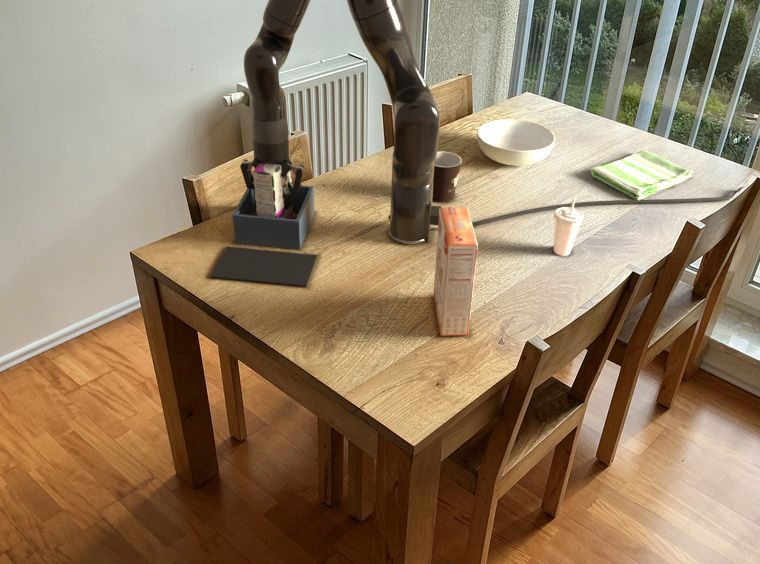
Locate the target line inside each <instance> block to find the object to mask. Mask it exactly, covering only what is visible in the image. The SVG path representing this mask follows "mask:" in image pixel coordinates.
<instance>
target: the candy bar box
mask: <svg viewBox="0 0 760 564" xmlns="http://www.w3.org/2000/svg"><path fill="white" fill-rule="evenodd" d="M289 158H290V159H291V153H290V152H289ZM280 174H282V171H281V165H277V164H267V163H260V164H259V165H258V166H257V167H256V168H254V170H252V175H253V180H254V191H255V201H256V210H255V212H256V216H263V217H273V218H284V219H294V218H295V213H294V211H293V203H292V205H291V208H290V207H289V210H285V201H284V195H285V192H284V190H283V188H282V185H281V175H280ZM287 174H288V177H289V181H290V183H291V185H292V184H293V183H292V182H293V179H292V170H290V171H289V172H288V173H287ZM285 178H286V176H285V177H284V180H285ZM292 201H293V196H292Z"/></svg>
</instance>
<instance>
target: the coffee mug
mask: <svg viewBox="0 0 760 564" xmlns="http://www.w3.org/2000/svg"><path fill="white" fill-rule="evenodd" d="M462 162H463V158H462V157H461V156H459V155H458V154H456V153H453V152H450V151H444V150H443V151H441V150H439V151H437V157H436V160H435V167H434V181H433V202H436V203H443V204H444V203H449V202H451V201H453V200H454V199H455V193H456V189H457V184H458V181H459V175H460V171H461V166H462Z"/></svg>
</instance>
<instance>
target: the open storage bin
mask: <svg viewBox="0 0 760 564" xmlns="http://www.w3.org/2000/svg"><path fill="white" fill-rule="evenodd" d="M293 185H294V183H292V186H293ZM292 196H293V211H294V214H298V215H297V217H296V219H294V218H293V219H284V218H273V217H263V216H257V215H254V214H255V212H256V201H255V191H254V190H253V189H248V188H247V187H246V189H245V192H244V194H243V195H242V197H241V199H240V201H239V202H238V204H237V206H236V208H235V210H234V211H233V213H232V215H231V216H232V227H233V237H234V244H241V245H250V246H260V247H272V248H282V249H292V250H301V249H302V246H303V244H304V241H305V238H306V235H307V233H308V231H309V229H310V226H311V222H312V220H313V218H314V215H315V187H314V185H304V184H303V185H302V184H301V187H300V189H299V192H298V193H297V194H295V193H293V194H292Z"/></svg>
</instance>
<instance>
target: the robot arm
mask: <svg viewBox="0 0 760 564" xmlns="http://www.w3.org/2000/svg"><path fill="white" fill-rule="evenodd" d="M310 2H311V0H268V1H267V4H266V5H265V8H264V11H263V15H262V24H261V27H260V29H259V31H258V34H257V36H256V38H255V40H254V41H253V42H252V43H251V44H250V45H249V46H248V47H247V49H246V50H245V53H244V55H243V56H244V57H243V71H244V77H245V80H246V84H247V88H248V91H249V93H250V105H251V106H250V107H251V136H252V150H253V160H248V159H246V158H245V159H243V161H242V162H241V164H240V166H239V168H240V170H241V173H242V176H243V180H244V183H245V186H246V189H247V188H248V189H253V190H254V180H253V168H254V169H255V168H256V167H257V166H258V165H259V164H260V163H267V164H277V165H281V171H282V174H280V175H281V185H282V188H283V190H284V192H285V195H284V201H285V210H289V207H290V208H291V205H292V203H293V201H292V194H293V193H295V194H297V193H298V192H299V189H300V187H301V185H302V181H303V178H304V177H303V176H304V171H305V166H304V165H303V164H299V165H297V164H293V162H292V161H291V157H290V158H289V153H290V142H289V136H290V135H289V134H290V132H289V123H288V118H287V106H286V105H287V103H286V102H287V101H286V94H285V91H284V89H283V88H282V86H281V85H280V78H279V77H280V75H279V73H280V70H281V69H282V67H283V66H284V65H285V64H286V61H287V58H288V56H289V54H290V52H291V48H292V46H293V43H294V39H295V35H296V33H297V31H298V30H299V27H300V25H301V23H302V22H303V19H304V17H305V15H306V13H307V11H308V7H309V5H310ZM346 3H347V7H348V9H349V12H350V15H351V18H352V21H353V23H354V24H355V28H356V30H357V32H358V34H359V37H360V39H361V41H362V42H363V43H362V44H363V45H364V46H365V48H366V50H367V51H368V53H369V55H370V56H371V58H372V60H373V61H374V62H375V64H376V65H377V68H378V69H379V70H380V72H381V74H382V77H383V80H384V82H385V85H386V88H387V91H388V94H389V98H390V101H391V105H392V111H393V117H394V118H393V119H394V132H393V133H394V135H393V152H392V155H391V156H392V158H391V159H392V161H391V184H390V185H391V186H390V207H389V208H390V211H389V212H390V213H389V215H388V220H389V229H388V235H389V237H390V238H391V240H393V241H395V242H397V243H400V244H403V245H418V244H419V245H420V244H423V243H429V241H430V237H431V228H432V227H431V226H438V220H439V208H442V206H441V205H433V202H434V201H433V181H434V167H435V160H436V157H437V152H438V148H439V140H440V139H439V138H440V126H441V125H440V124H441V121H440V119H441V117H440V112H439V109H438V108H439V107H438V105H437V101H436V99H435V97H434V95H433V93H432V91H431V90H430V88H429V86H428V84H427V82H426V80H425V78H424V76H423V74H422V72H421V70H420V68H419V66H418V62H417V60H416V57H415V55H414V51H413V46H412V42H411V37H410V34H409V29H408V27H407V24H406V20H405V16H404V14H403V12H402V9H401V7H400V4H399V1H398V0H346ZM290 170H291V172H292V175H293V176H294V177H295V178H294V183H293V186H292V185H291V183H290V181H289V177H288V174H287V173H288V172H289V171H290ZM285 176H286V178H285V180H284V177H285ZM744 187H745V186H741V187H739V188H737V189H736V191H734V192H733V193H732V194H730V195H727V196H717V197H697V198H695V197H694V198H663V199H661V198H660V199H658V198H657V199H656V198H655V199H654V198H653V199H641V200H637V199H617V200H616V199H615V200H595V201H581V202H575V203H574V208H575V207H585V206H602V205H603V206H604V205H624V204H625V205H628V204H629V205H630V204H635V205H636V204H677V203H678V204H679V203H701V202H704V203H705V202H723V201H728V200H731V199H730V198H732V197H733V196H734V195H735V194H736V193H737V192H739V191H740V190H741V189H742V188H744ZM732 199H733V198H732ZM571 205H572V202H570V203H562V204H555V205H554V204H553V205H548V206H542V207H535V208H530V209H525V210H520V211H515V212H511V213H507V214H503V215H500V216H495V217H492V218H487V219H483V220H478V221H473V222H472V225H473V227H476V226H481V225H487V224H491V223H493V222H497V221H502V220H505V219H511V218H514V217H519V216H522V215H528V214H533V213H538V212H544V211H545V212H546V211H551V210H557V209H558V208H561V207H571Z"/></svg>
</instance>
